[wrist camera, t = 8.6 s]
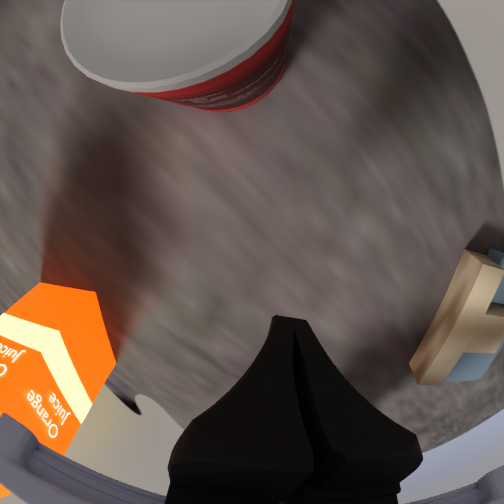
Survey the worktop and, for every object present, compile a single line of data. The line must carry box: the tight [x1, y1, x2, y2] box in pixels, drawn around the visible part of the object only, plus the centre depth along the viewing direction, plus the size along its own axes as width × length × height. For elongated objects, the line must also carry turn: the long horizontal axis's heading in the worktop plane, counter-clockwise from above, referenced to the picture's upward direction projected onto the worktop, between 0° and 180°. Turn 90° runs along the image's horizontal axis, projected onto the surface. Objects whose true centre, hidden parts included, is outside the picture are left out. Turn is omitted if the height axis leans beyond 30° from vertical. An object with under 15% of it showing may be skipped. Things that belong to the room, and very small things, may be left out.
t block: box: [409, 249, 504, 385], centre depth 20 cm, size 12×8×3 cm, turn 170°
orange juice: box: [0, 283, 116, 498], centre depth 16 cm, size 8×9×20 cm
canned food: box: [60, 0, 293, 112], centre depth 10 cm, size 8×8×11 cm
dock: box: [444, 248, 504, 382], centre depth 20 cm, size 13×7×2 cm, turn 170°
